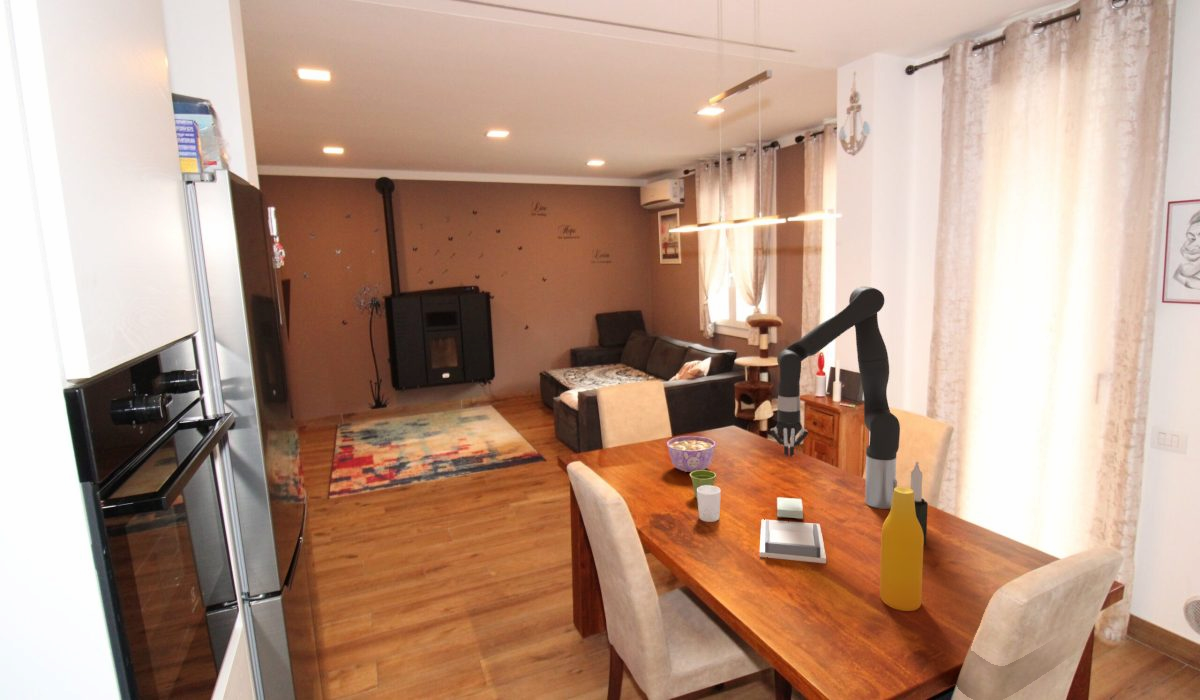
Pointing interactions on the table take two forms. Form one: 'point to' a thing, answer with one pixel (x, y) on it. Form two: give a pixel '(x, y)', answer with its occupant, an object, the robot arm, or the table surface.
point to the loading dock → (792, 541)
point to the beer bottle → (902, 554)
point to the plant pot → (702, 479)
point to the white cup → (708, 502)
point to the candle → (919, 499)
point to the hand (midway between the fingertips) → (788, 455)
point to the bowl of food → (691, 452)
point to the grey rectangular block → (789, 508)
